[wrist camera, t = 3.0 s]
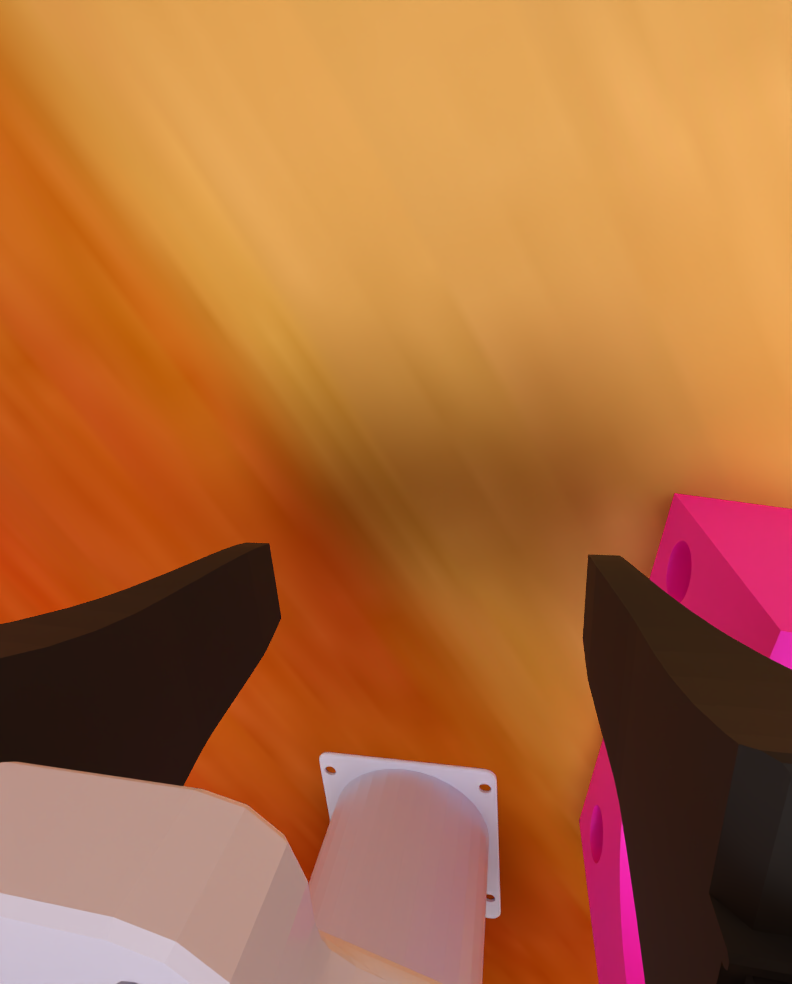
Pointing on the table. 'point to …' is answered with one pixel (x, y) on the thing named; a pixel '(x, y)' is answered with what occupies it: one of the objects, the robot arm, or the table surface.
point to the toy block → (733, 610)
